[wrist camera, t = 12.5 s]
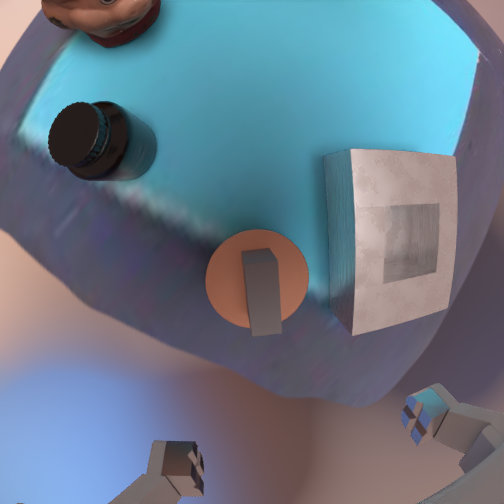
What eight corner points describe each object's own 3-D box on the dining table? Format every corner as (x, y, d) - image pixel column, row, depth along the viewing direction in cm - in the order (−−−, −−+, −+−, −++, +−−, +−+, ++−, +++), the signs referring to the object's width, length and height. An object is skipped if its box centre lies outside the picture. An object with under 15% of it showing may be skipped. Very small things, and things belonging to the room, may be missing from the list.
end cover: (204, 225, 29) (193, 247, 19) (290, 217, 29) (322, 233, 19) (215, 305, 31) (212, 357, 21) (294, 295, 32) (322, 342, 22)
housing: (322, 155, 28) (350, 148, 21) (419, 158, 29) (455, 156, 22) (329, 307, 32) (352, 335, 26) (417, 288, 33) (447, 308, 27)
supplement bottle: (143, 109, 25) (98, 69, 13) (167, 161, 27) (130, 145, 15) (92, 141, 25) (29, 125, 13) (114, 192, 27) (54, 200, 15)
